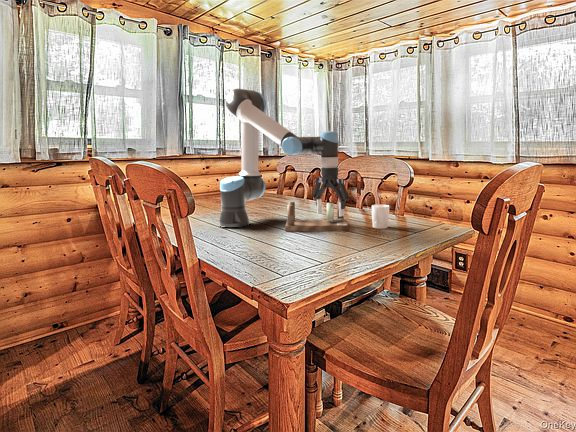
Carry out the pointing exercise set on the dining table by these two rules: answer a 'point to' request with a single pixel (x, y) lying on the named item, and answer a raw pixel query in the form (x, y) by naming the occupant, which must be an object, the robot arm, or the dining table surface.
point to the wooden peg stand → (313, 222)
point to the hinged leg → (331, 213)
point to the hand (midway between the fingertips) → (330, 214)
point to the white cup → (380, 216)
